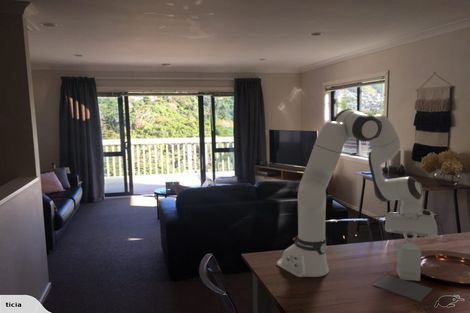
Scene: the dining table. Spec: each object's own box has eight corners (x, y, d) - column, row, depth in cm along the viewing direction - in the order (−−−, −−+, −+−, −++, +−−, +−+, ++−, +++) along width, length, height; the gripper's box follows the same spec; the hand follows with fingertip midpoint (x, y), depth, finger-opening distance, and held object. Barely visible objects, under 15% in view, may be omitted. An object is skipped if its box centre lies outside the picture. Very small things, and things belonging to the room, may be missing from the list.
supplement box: (420, 281, 141) (422, 250, 139) (400, 279, 142) (401, 249, 141) (415, 272, 148) (416, 243, 146) (395, 271, 149) (396, 242, 148)
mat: (373, 285, 138) (373, 284, 138) (387, 275, 146) (387, 274, 146) (420, 302, 126) (420, 300, 126) (432, 289, 134) (432, 288, 134)
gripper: (385, 208, 161) (382, 236, 154) (437, 213, 152) (437, 243, 144) (385, 215, 166) (383, 242, 158) (436, 220, 156) (436, 249, 149)
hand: (409, 243), depth 151 cm, fingers closed
